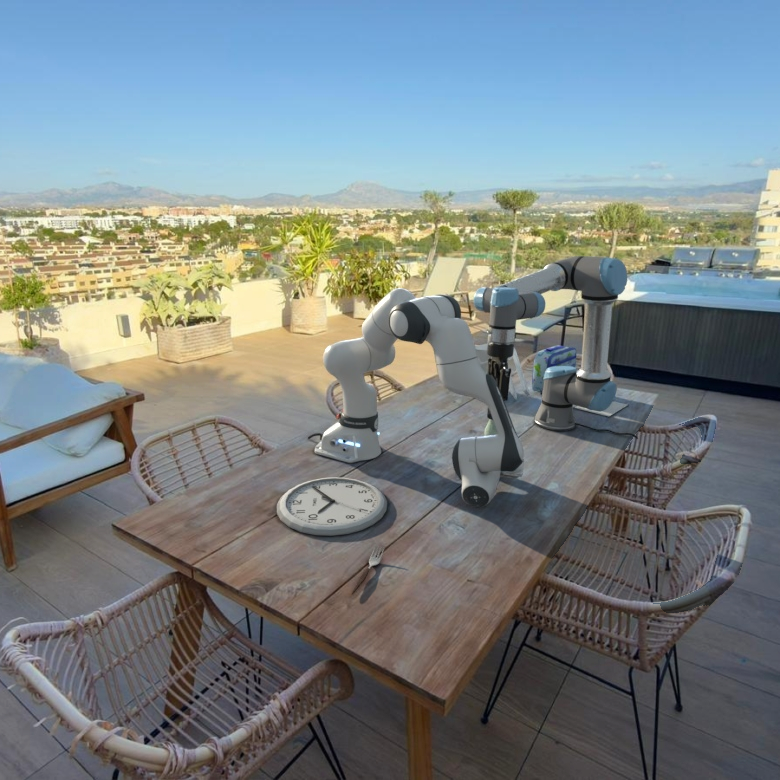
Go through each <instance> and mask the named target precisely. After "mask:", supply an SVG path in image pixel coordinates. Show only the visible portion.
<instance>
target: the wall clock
mask: <svg viewBox="0 0 780 780" xmlns="http://www.w3.org/2000/svg"><path fill="white" fill-rule="evenodd" d="M387 509H388V500H387V498H386V496H385V494H384V493H383V492H382V491H381V490H380V489H379V488H377V487H376V486H374V485H372V484H371V483H369V482H365V481H362V480H359V479H355V478H349V477H338V476H337V477H335V476H333V477H332V476H331V477H322V478H317V479H312V480H307V481H305V482H302V483H299V484H297V485H295V486H293V487H292V488H290V489H288V490H287V491H286V492H285V493H284V494H283V495H281V496H280V498H279V499H278V502H277V503H276V515H277V517H278V518H279V520H280V521H281V522H282V523H283V524H285V525H286V526H287V527H288V528H290V529H293V530H295V531H297V532H299V533H303V534H308V535H312V536H327V537H328V536H329V537H331V536H332V537H333V536H342V535H350V534H352V533H356V532H361V531H363V530H366V529H368V528H369V527H372V526H373V525H375V524H376V523H378V522H379V521H380V520H381V519H382V518H383V517H384V516H385V514H386V512H387Z"/></svg>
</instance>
